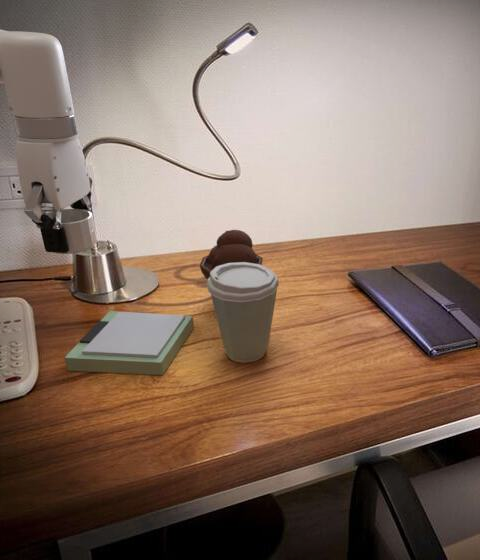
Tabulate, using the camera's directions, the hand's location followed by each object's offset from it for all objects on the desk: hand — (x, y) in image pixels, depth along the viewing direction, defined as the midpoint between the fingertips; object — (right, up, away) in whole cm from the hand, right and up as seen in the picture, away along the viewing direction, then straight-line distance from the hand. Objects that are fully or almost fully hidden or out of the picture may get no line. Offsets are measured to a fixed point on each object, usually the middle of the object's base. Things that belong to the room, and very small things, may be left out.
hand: (71, 241), depth 83 cm
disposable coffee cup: (+27, -18, +4) cm, 33 cm away
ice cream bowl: (+20, -11, +17) cm, 29 cm away
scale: (+9, -17, +3) cm, 19 cm away
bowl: (0, -1, 0) cm, 1 cm away
